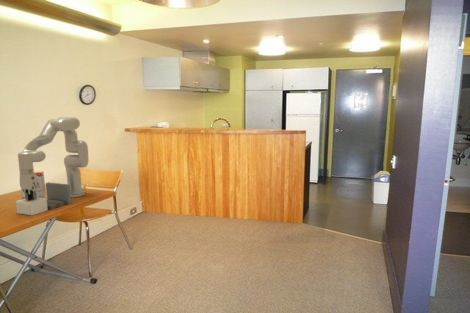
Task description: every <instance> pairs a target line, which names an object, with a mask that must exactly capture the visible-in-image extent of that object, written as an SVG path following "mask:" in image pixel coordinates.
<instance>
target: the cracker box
mask: <svg viewBox="0 0 470 313" xmlns="http://www.w3.org/2000/svg"><path fill="white" fill-rule="evenodd" d="M34 173H35V176H36V180H37V188H36V196H37V197H38V198H47V191H46V182H45V174H44V171H42V170H41V171H34ZM20 190H21V200H22V199H26V197H25V193H24V191H23V190H22V189H21V188H20ZM30 191H31V190H30Z"/></svg>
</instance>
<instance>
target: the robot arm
mask: <svg viewBox="0 0 470 313" xmlns="http://www.w3.org/2000/svg"><path fill="white" fill-rule="evenodd" d="M80 125H81V123H80V120H79V119H78V118H77V117H64V116H63V117H58V118H53V119H49V120H47V122H46V124H45V125H44V126H43V128H42V130H41V132H40V133H39V134H38V136H36V137H35V138H33V139H32V140H31V141H29V142H28V143H27V144H26V145H25V146H24V148H23V150H22V151H21V152H18V153H17V158H18V159H17V161H18V168H19V186H20V190H21V189H22V190H23V191H24V193H25V197H26V193H28V200H33V199H34V197H33V193H34V191H36V188H37V180H36V176H35V173H34V172H35V171H34V164H33V163H39V162H40V163H41V162H43V161H45V159H46V157H47V156H46V153H45V152H44V151H42V150H38V149H39V148H41V147H43V146H46V145H48V144H50V143H52V142H53V140H54V139H55V136H56V135H57V133H58V132H63V135H64V146H65V152H66V153H70V154H68V155H66V156H65V157H64V158H63V163H64V164H63V165H64V166H65V172H66V181H67V183H66V184H70V195H71V198H79V197H82V196H85V191H87V187H84V188H83V186H82V177H81V176H82V175H81V170H80V168H82V169H84V168H86V167H87V166H88V165H89V147H88V144H87V142H86V141H85V140H81V139H80V140H79V139H78V132H77V131H76V130H77V129H79V127H80ZM30 190H31V191H30Z"/></svg>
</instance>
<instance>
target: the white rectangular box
mask: <svg viewBox="0 0 470 313" xmlns="http://www.w3.org/2000/svg"><path fill="white" fill-rule="evenodd" d="M33 197H34V199H33V200H28V193H26V199H22V198H21V199H19V200H16V202H15V203H16V212H17V214H20V215H27V216H35V215H37V214H42V213H44V212H46V211H49V210H48V208H47V197H46V198H38V197H37V196H36V191H34V193H33Z"/></svg>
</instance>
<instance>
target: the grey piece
mask: <svg viewBox="0 0 470 313" xmlns="http://www.w3.org/2000/svg"><path fill="white" fill-rule="evenodd" d="M45 191H46V198H47V208H48V210H47V211H52V210H54V209H58V208H60V207H64V206H67V205H68V206H69V205H71V204H72V197H71V195H70V184H67V183H60V182H59V183H58V182H45Z"/></svg>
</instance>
